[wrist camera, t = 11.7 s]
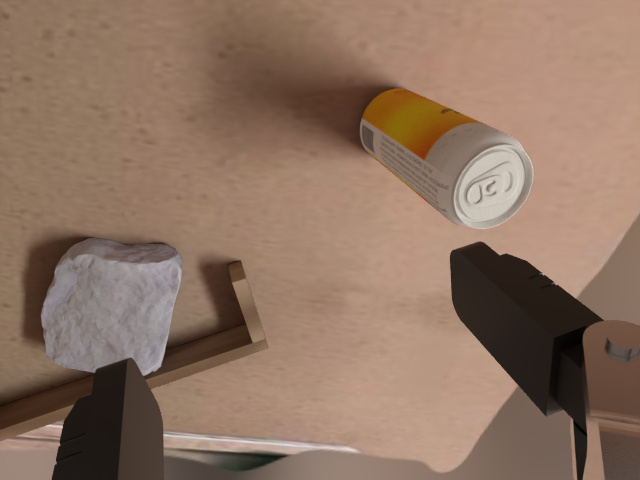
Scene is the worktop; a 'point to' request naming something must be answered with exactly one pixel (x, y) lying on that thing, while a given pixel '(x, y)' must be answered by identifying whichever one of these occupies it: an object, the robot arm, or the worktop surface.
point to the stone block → (111, 304)
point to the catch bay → (174, 366)
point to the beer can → (448, 158)
